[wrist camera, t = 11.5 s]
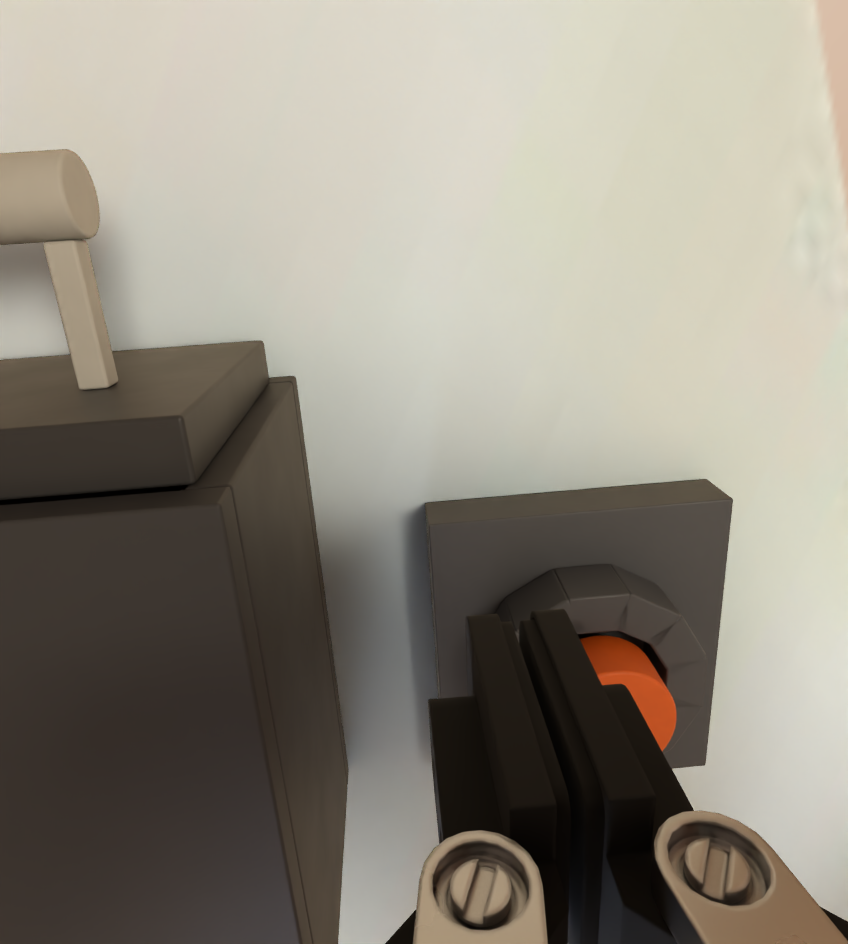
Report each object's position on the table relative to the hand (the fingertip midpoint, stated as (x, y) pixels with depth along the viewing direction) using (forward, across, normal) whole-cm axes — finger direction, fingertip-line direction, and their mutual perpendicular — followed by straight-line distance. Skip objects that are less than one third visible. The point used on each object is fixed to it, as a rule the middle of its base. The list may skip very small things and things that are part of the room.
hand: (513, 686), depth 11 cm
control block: (+10, -4, +6) cm, 12 cm away
